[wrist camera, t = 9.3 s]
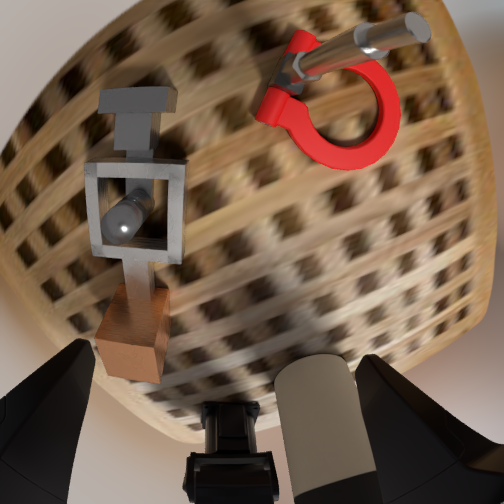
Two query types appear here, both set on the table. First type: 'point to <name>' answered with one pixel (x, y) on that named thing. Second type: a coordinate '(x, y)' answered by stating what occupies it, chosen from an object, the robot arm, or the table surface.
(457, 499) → the robot arm
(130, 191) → the hook
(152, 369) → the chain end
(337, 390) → the travel mug
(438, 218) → the table surface
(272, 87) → the tow hook
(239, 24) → the table surface
